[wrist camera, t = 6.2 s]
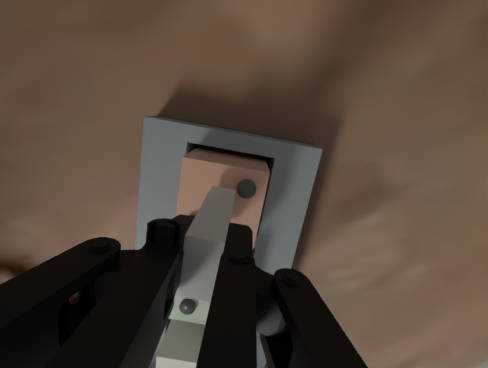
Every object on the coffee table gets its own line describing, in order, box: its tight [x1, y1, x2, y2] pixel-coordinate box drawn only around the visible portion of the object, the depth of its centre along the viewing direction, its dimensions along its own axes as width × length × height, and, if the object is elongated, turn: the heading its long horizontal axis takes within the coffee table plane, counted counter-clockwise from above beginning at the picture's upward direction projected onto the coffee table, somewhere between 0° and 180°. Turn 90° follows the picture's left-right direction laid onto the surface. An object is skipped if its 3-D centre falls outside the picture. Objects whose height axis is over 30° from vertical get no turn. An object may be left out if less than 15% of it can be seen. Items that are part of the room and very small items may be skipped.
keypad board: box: [135, 116, 323, 368], centre depth 22 cm, size 13×24×2 cm, turn 170°
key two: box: [169, 289, 210, 325], centre depth 21 cm, size 6×6×4 cm
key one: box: [155, 319, 205, 368], centre depth 21 cm, size 6×6×4 cm
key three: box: [176, 148, 270, 249], centre depth 18 cm, size 6×6×4 cm
